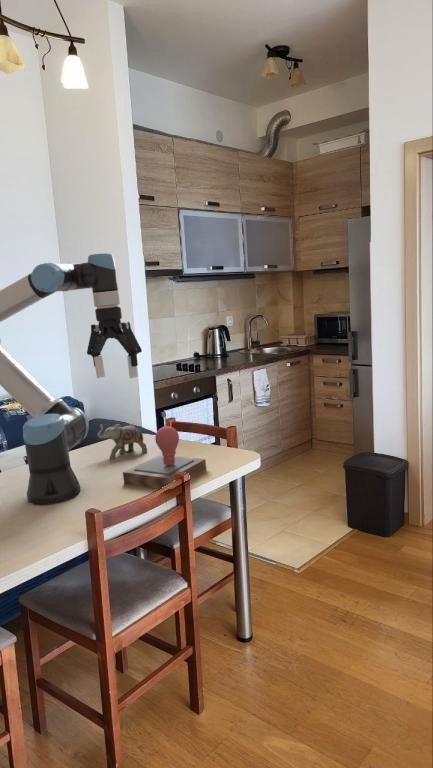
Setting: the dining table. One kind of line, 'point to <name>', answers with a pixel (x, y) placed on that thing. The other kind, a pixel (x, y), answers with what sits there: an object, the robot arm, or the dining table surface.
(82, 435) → the robot arm
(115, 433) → the figurine
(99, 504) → the dining table surface
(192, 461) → the stand
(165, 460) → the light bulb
